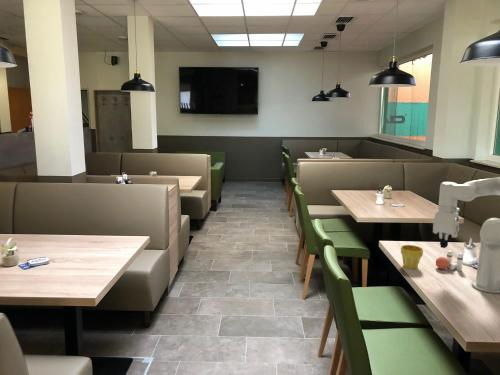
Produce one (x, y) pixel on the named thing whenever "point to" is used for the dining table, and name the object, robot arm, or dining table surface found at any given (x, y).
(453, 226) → the robot arm
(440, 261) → the ball
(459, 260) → the rear right pin
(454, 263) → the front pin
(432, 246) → the dining table surface
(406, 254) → the plant pot
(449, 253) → the rear left pin
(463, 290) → the dining table surface
